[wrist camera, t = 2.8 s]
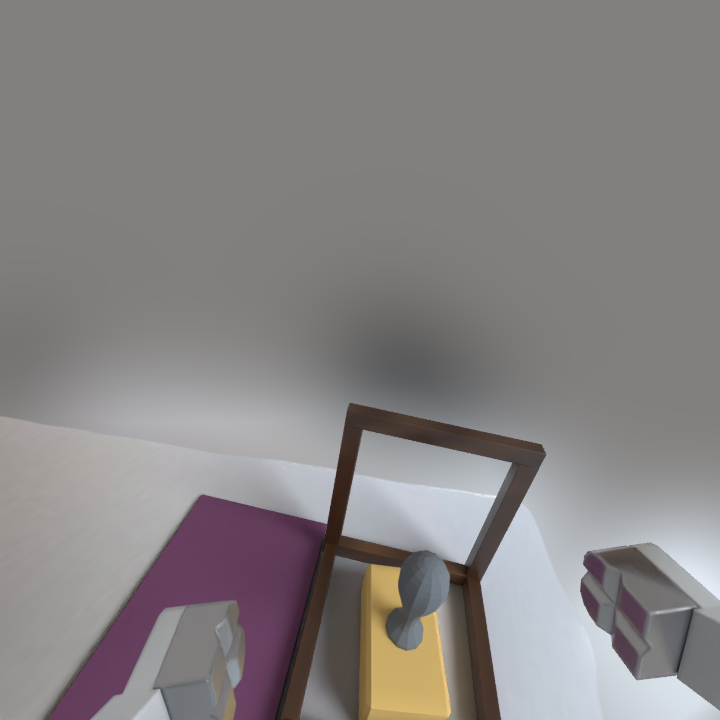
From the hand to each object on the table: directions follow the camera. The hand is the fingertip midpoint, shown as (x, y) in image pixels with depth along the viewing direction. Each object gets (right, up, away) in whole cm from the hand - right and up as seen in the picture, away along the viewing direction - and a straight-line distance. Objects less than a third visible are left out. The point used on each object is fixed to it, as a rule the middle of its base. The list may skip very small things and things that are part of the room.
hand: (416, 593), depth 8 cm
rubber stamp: (+1, -19, +22) cm, 29 cm away
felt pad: (-13, -15, +22) cm, 30 cm away
